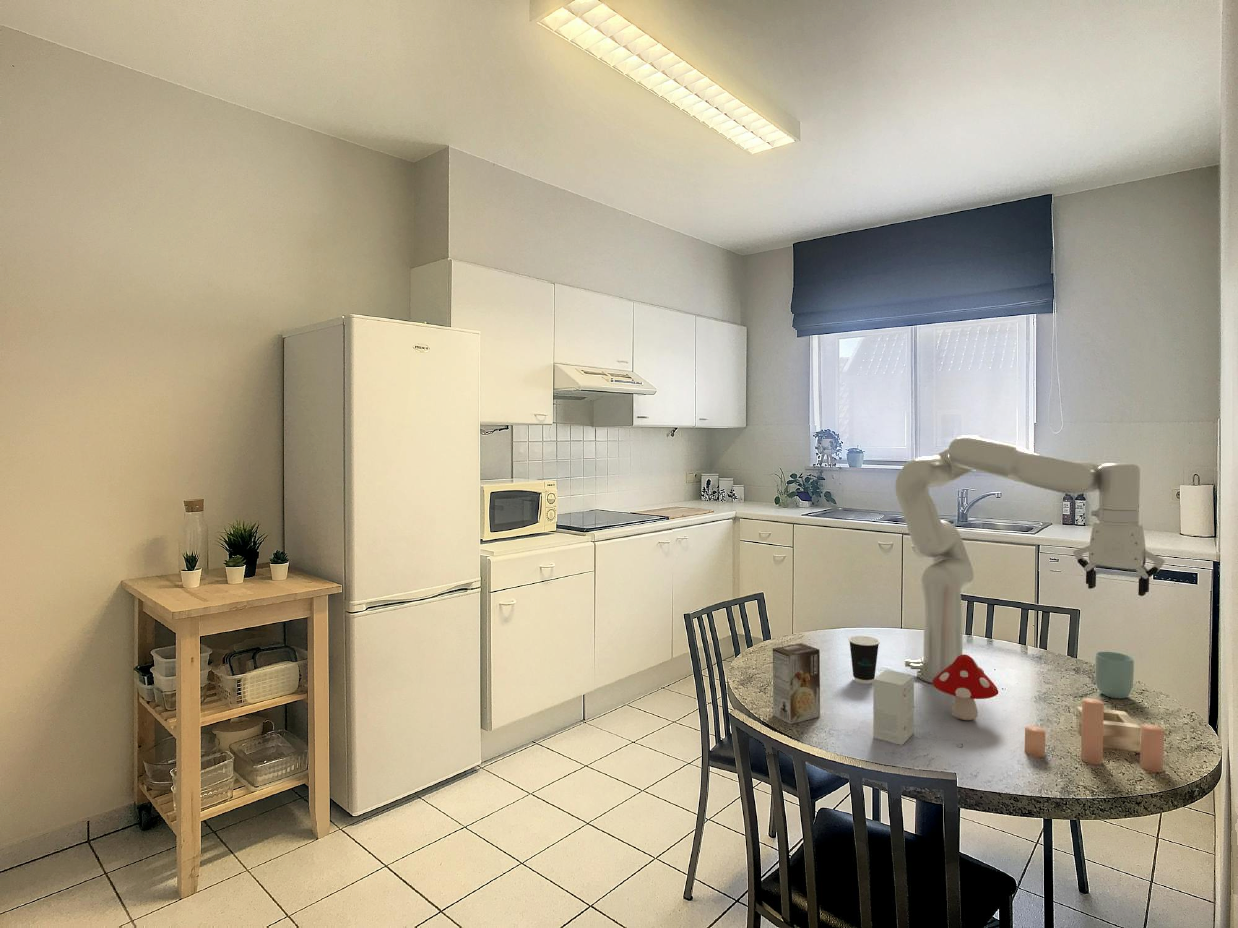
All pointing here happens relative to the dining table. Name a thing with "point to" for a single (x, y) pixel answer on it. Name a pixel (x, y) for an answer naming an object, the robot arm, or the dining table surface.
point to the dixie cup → (864, 658)
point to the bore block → (1116, 730)
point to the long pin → (1092, 731)
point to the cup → (1114, 674)
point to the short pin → (1035, 741)
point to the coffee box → (796, 683)
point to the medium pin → (1152, 748)
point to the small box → (893, 706)
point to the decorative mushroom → (965, 686)
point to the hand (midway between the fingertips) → (1116, 591)
